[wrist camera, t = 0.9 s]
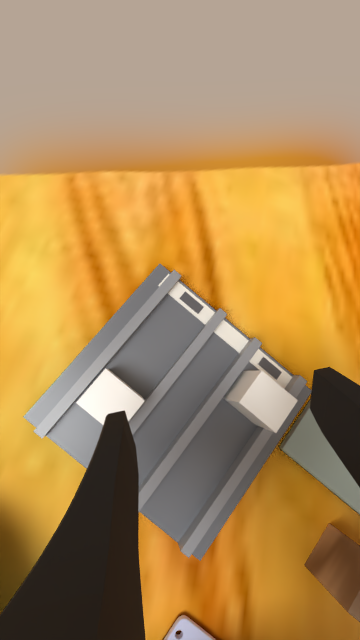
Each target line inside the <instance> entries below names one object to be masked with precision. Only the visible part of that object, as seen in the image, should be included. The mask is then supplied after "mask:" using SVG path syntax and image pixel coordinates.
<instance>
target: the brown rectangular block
mask: <svg viewBox="0 0 360 640" xmlns="http://www.w3.org/2000/svg"><path fill="white" fill-rule="evenodd" d="M305 566H306V567H307V569H308V570H309V571H310V572H311V573H312V574H313V575H314V576H315V577H316V578H317V579H318V580H319V582H320V583H321V584H322V585H323V586H324V587H325V588H326V589H327V590H328V591H329V592H330V594H331V595H332V596H333V597H334V598H335V599H336V600H337V601H338V602H339V603H340V604H341V605H342V607H343V608H344V609H345V610H346V611H347V612H348V613H349V614H350V615H352V616H353V617H354V618H355V619H356V620H358V621H359V622H360V546H359V545H358V544H357V543H355V542H354V541H353V540H351V539H350V538H349V537H347V536H346V535H344V534H343V533H342V532H340V531H339V530H338V529H336V528H335V527H334V526H332V525H331V524H330V523H329V524H328V526H327V527H326V529H325V531H324V532H323V534H322V536H321V537H320V539H319V541H318V543H317V544H316V546H315V548H314V549H313V551H312V553H311V554H310V556H309V558H308V560H307V561H306V563H305Z"/></svg>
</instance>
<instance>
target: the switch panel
mask: <svg viewBox="0 0 360 640" xmlns="http://www.w3.org/2000/svg"><path fill="white" fill-rule="evenodd" d="M180 278H181V275H180V274H179V273H177V272H176V271H175V270H173V271H172V273H171V272H169V271H168V270H167V269H166V268H165V267H163V266H162V265H161V264H159V265H158V266H157V267H156V268H155V269H154V271H153V272H152V273H151V274H150V275H149V276H148V277H147V278H146V280H145V281H144V282H143V283H142V284H141V285H140V286H139V287H138V289H137V290H136V291H135V292H134V293H133V294H132V295H131V296H130V298H129V299H128V300H127V301H126V302H125V303H124V304H123V305H122V307H121V308H120V309H119V310H118V311H117V312H116V313H115V314H114V316H113V317H112V318H111V319H110V320H109V321H108V322H107V323H106V325H105V326H104V327H103V328H102V329H101V330H100V331H99V332H98V334H97V335H96V336H95V337H94V338H93V339H92V340H91V341H90V343H89V344H88V345H87V346H86V347H85V348H84V349H83V350H82V351H81V353H80V354H79V355H78V356H77V357H76V358H75V359H74V360H73V362H72V363H71V364H70V365H69V366H68V367H67V368H66V369H65V371H64V372H63V373H62V374H61V375H60V376H59V377H58V378H57V380H56V381H55V382H54V383H53V384H52V385H51V386H50V387H49V389H48V390H47V391H46V392H45V393H44V394H43V395H42V396H41V398H40V399H39V400H38V401H37V402H36V403H35V404H34V405H33V407H32V408H31V409H30V410H29V411H28V412H27V413H26V414H25V416H24V418H25V419H26V420H27V421H29V422H30V423H31V424H32V425H34V426H35V427H36V429H35V430H34V431H33V432H35V433H36V434H37V435H38V436H40V437H41V438H43V437H45V436H47V437H48V438H50V439H51V440H52V441H53V442H55V443H56V444H57V445H58V446H59V447H61V448H62V449H63V450H64V451H66V452H67V453H68V454H69V455H71V456H72V457H73V458H74V459H75V460H77V461H78V462H79V463H80V464H82V465H83V466H84V467H85V468H88V465H89V463H90V460H91V458H92V455H93V453H94V451H95V448H96V445H97V442H98V440H99V437H100V434H101V431H102V428H103V425H102V424H101V423H100V422H99V421H98V420H96V419H95V418H94V417H93V416H91V415H90V414H89V413H88V412H87V411H85V410H84V409H83V408H82V407H80V406H79V405H78V404H77V403H76V402H77V401H78V400H79V399H80V398H81V396H82V395H83V394H84V393H85V392H86V391H87V389H88V388H89V387H90V386H91V385H92V384H93V382H94V381H95V380H96V379H97V378H98V377H99V375H100V374H101V373H102V372H103V371H104V370H105V368H106V369H109V370H110V371H112V372H113V373H114V374H115V375H116V376H118V377H119V378H120V379H121V380H122V381H124V382H125V383H126V384H127V385H129V386H130V387H131V388H132V389H133V390H135V391H136V392H137V393H138V394H139V395H141V396H142V397H143V399H144V400H145V401H144V403H143V404H142V405H141V406H140V408H139V409H138V410H137V411H136V413H135V414H134V415H133V416H132V418H131V419H130V420H129V421H128V422H129V426H130V429H131V432H132V435H133V439H134V442H135V445H136V452H137V462H138V473H139V508H138V512H141V513H142V514H143V515H144V516H146V517H147V518H148V519H149V520H151V521H152V522H153V523H154V524H155V525H157V526H158V527H159V528H160V529H162V530H163V531H164V532H165V533H167V534H168V535H169V536H170V537H171V538H173V539H174V540H175V541H176V542H178V544H179V547H180V551H181V552H182V553H184V554H185V555H186V556H187V557H190V556H191V554H192V555H194V556H195V557H196V558H197V559H199V560H201V559H202V557H203V556H204V554H205V553H206V551H207V550H208V548H209V547H210V545H211V544H212V542H213V541H214V539H215V538H216V536H217V535H218V533H219V532H220V530H221V528H222V527H223V525H224V524H225V522H226V521H227V519H228V518H229V516H230V515H231V513H232V512H233V510H234V509H235V507H236V506H237V504H238V503H239V501H240V500H241V498H242V497H243V495H244V494H245V492H246V491H247V489H248V488H249V486H250V485H251V483H252V482H253V480H254V478H255V477H256V475H257V474H258V472H259V471H260V469H261V468H262V466H263V465H264V463H265V462H266V460H267V459H268V457H269V456H270V454H271V453H272V451H273V450H274V448H275V447H276V445H277V444H278V442H279V441H280V439H281V438H282V436H283V435H284V433H285V432H286V430H287V428H288V427H289V425H290V424H291V422H292V421H293V419H294V418H295V416H296V415H297V413H298V412H299V410H300V409H301V407H302V406H303V404H304V403H305V401H306V400H307V398H308V397H309V395H310V394H311V392H312V390H310V389H309V388H308V387H307V386H306V385H305V384H306V383H307V381H306V380H305V379H304V378H303V377H302V376H300V375H292V374H291V373H290V372H289V371H288V370H286V369H285V368H284V367H283V366H282V365H280V364H279V363H278V362H277V361H276V360H275V359H273V358H272V357H271V356H270V355H269V354H267V353H266V352H265V351H264V350H263V349H261V348H260V346H261V345H262V343H261V342H260V341H259V340H257V339H256V338H255V337H254V338H251V339H249V338H248V337H247V336H246V335H245V334H243V333H242V332H241V331H240V330H239V329H237V328H236V327H235V326H234V325H233V324H232V323H230V322H229V321H228V320H227V319H226V318H225V317H226V315H227V314H226V313H225V312H224V311H223V310H222V309H220V308H219V309H218V310H215V309H214V308H212V307H211V306H210V305H209V304H208V303H206V302H205V301H204V300H203V299H202V298H200V297H199V296H198V295H197V294H196V293H195V292H193V291H192V290H191V289H190V288H189V287H187V286H186V285H185V284H184V283H183V282H181V281H180ZM257 370H262V371H263V372H264V373H266V374H267V375H268V376H269V377H270V378H272V379H273V380H274V381H275V382H276V383H278V384H279V385H280V386H281V387H282V388H284V389H285V390H286V391H287V392H288V393H290V394H291V395H292V396H293V397H294V398H296V399H297V400H298V401H297V403H296V404H295V406H294V407H293V409H292V410H291V412H290V413H289V415H288V416H287V418H286V419H285V421H284V422H283V424H282V425H281V427H280V428H279V430H278V431H277V433H275V432H272V431H270V430H267V429H265V428H262V427H260V426H257V425H255V424H254V423H252V422H251V421H250V420H249V419H248V418H246V417H245V416H244V415H243V414H242V413H240V412H239V411H238V410H237V409H236V408H234V407H233V406H232V405H231V404H230V403H228V402H227V401H226V400H225V399H223V398H224V396H225V395H226V393H227V392H228V391H229V389H230V388H231V387H232V385H233V384H234V383H235V381H236V380H237V378H238V377H239V376H240V374H241V373H242V372H243V371H257Z"/></svg>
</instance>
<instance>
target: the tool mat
mask: <svg viewBox="0 0 360 640" xmlns="http://www.w3.org/2000/svg"><path fill="white" fill-rule="evenodd" d="M310 402H311V399H310V401H309V402H308V404H307V405H306V407H305V408H304V410H303V411H302V413H301V414H300V416H299V417H298V419H297V420H296V422H295V423H294V425H293V426H292V428H291V430H290V431H289V433H288V434H287V436H286V437H285V439H284V440H283V442H282V443H281V445H280V446H279V448H280V449H281V450H282V451H283V452H284V453H286V454H287V455H288V456H289V457H290V458H292V459H293V460H294V461H295V462H297V463H298V464H299V465H300V466H301V467H303V468H304V469H305V470H306V471H307V472H309V473H310V474H311V475H312V476H313V477H315V478H316V479H317V480H318V481H319V482H321V483H322V484H323V485H324V486H325V487H327V488H328V489H329V490H330V491H331V492H333V493H334V494H335V495H336V496H338V497H339V498H340V499H341V500H342V501H344V502H345V503H346V504H347V505H348V506H350V507H351V508H352V509H353V510H354V511H356V512H357V513H358V514H359V515H360V488H359V486H358V485H357V483H356V482H355V480H354V479H353V477H352V476H351V475H350V473H349V472H348V470H347V469H346V467H345V466H344V464H343V463H342V461H341V460H340V459H339V457H338V456H337V454H336V453H335V451H334V450H333V448H332V447H331V445H330V444H329V442H328V441H327V439H326V438H325V436H324V435H323V433H322V432H321V430H320V428H319V426H318V424H317V422H316V420H315V418H314V416H313V414H312V412H311V410H310Z"/></svg>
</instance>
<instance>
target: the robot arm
mask: <svg viewBox="0 0 360 640" xmlns="http://www.w3.org/2000/svg"><path fill="white" fill-rule="evenodd" d="M310 410H311V412H312V414H313V416H314V418H315V420H316V422H317V424H318V426H319V428H320V430H321V432H322V433H323V435H324V436H325V438H326V439H327V441H328V442H329V444H330V445H331V447H332V448H333V450H334V451H335V453H336V454H337V456H338V457H339V459H340V460H341V461H342V463H343V464H344V466H345V467H346V469H347V470H348V472H349V473H350V475H351V476H352V477H353V479H354V480H355V482H356V483H357V485H358V486H359V488H360V386H359V385H358V384H356V383H355V382H353V381H351V380H350V379H348V378H347V377H345V376H343V375H342V374H340V373H339V372H337V371H335V370H334V369H332V368H330V367H327V368H322V369H318V370H314V376H313V384H312V393H311V402H310ZM138 508H139V473H138V462H137V452H136V445H135V442H134V439H133V435H132V432H131V429H130V426H129V422H128V419H127V416H126V412H125V410H124V411H119V412H114V413H110V414H108V415H107V416H106V418H105V421H104V425H103V428H102V431H101V434H100V437H99V440H98V442H97V445H96V448H95V451H94V453H93V455H92V458H91V460H90V463H89V465H88V468H87V470H86V472H85V475H84V477H83V479H82V481H81V483H80V485H79V488H78V490H77V492H76V494H75V496H74V498H73V500H72V502H71V504H70V506H69V508H68V510H67V512H66V514H65V515H64V517H63V519H62V521H61V523H60V524H59V526H58V528H57V530H56V531H55V533H54V535H53V536H52V538H51V540H50V541H49V543H48V545H47V546H46V548H45V550H44V551H43V553H42V555H41V556H40V558H39V559H38V561H37V562H36V564H35V565H34V567H33V569H32V570H31V571H30V573H29V574H28V576H27V577H26V579H25V580H24V582H23V583H22V584H21V586H20V587H19V589H18V590H17V592H16V593H15V595H14V596H13V598H12V599H11V600H10V602H9V603H8V605H7V606H6V607H5V609H4V610H3V612H2V613H1V614H0V640H145V629H144V618H143V606H142V594H141V581H140V568H139V551H138ZM178 630H181V631H182V632H181V633H180V634H178V635H177V634H175V633H176V632H177V631H178ZM164 640H216V639H215V638H214V637H212V636H211V635H210V634H209V633H207V632H206V631H205V630H204V629H202V628H201V627H200V626H199V625H197V624H196V623H195V622H194V621H192V620H191V619H190V618H189V617H187V616H185V615H181V616H179V617H178V618H177V620H176V621H175V623H174V624H173V626H172V627H171V629H170V631H169V632H168V634H167V635H166V637H165V638H164Z"/></svg>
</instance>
